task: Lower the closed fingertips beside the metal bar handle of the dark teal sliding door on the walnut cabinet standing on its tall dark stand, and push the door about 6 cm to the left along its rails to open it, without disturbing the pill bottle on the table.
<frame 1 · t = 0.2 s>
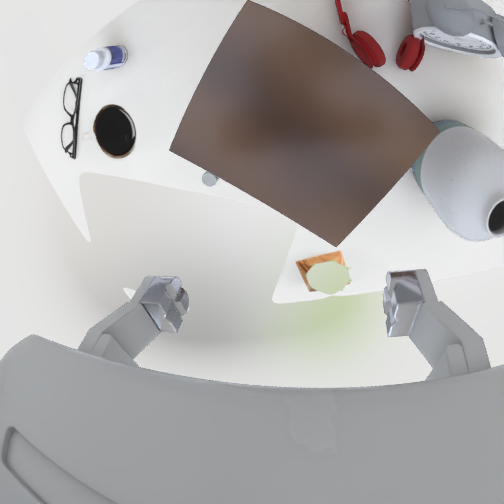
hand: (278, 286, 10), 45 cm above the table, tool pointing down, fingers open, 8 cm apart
alarm clock: (434, 28, 28), on the table, touching headphones
headphones: (377, 19, 30), on the table, touching alarm clock
pill bottle: (118, 56, 42), on the table
cabinet: (308, 84, 42), on the table
vase: (441, 154, 43), on the table
sliding door: (229, 157, 25), point 28 cm above the table, slide at 0.0 cm
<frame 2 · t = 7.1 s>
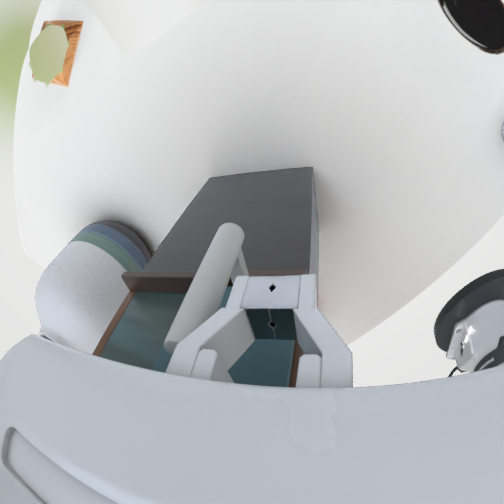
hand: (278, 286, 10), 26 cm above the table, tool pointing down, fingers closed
cabinet: (265, 204, 38), on the table
vase: (123, 247, 50), on the table
sliding door: (201, 345, 12), point 28 cm above the table, slide at 0.5 cm, touching gripper
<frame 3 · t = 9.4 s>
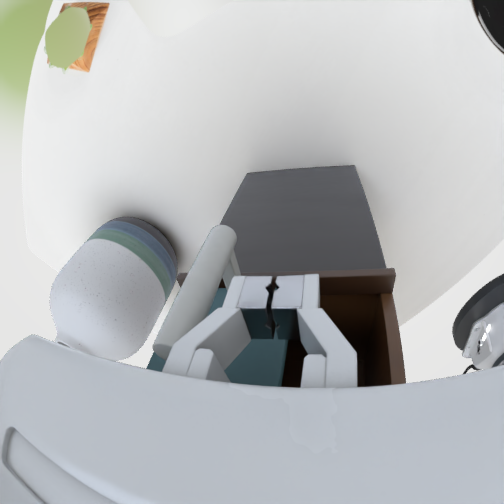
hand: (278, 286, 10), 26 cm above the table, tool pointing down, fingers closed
cabinet: (304, 202, 37), on the table
vase: (144, 246, 48), on the table
sliding door: (192, 348, 12), point 28 cm above the table, slide at 6.2 cm, touching gripper
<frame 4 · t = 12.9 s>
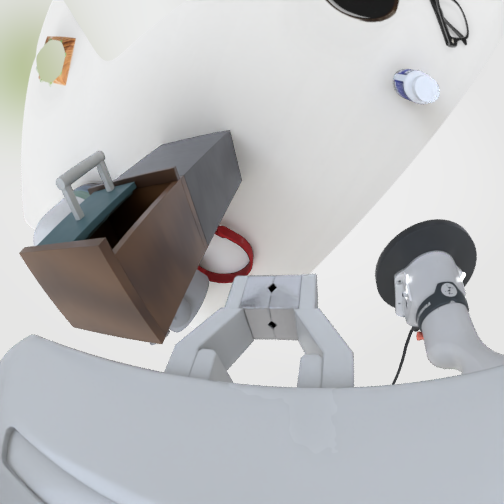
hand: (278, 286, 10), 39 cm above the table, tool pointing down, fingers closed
alarm clock: (189, 269, 69), on the table, touching headphones
headphones: (212, 243, 62), on the table, touching alarm clock
pill bottle: (406, 83, 33), on the table
cabinet: (200, 161, 50), on the table
vase: (104, 206, 61), on the table
sliding door: (75, 195, 24), point 28 cm above the table, slide at 5.4 cm
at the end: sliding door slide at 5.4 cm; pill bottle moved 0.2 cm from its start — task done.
